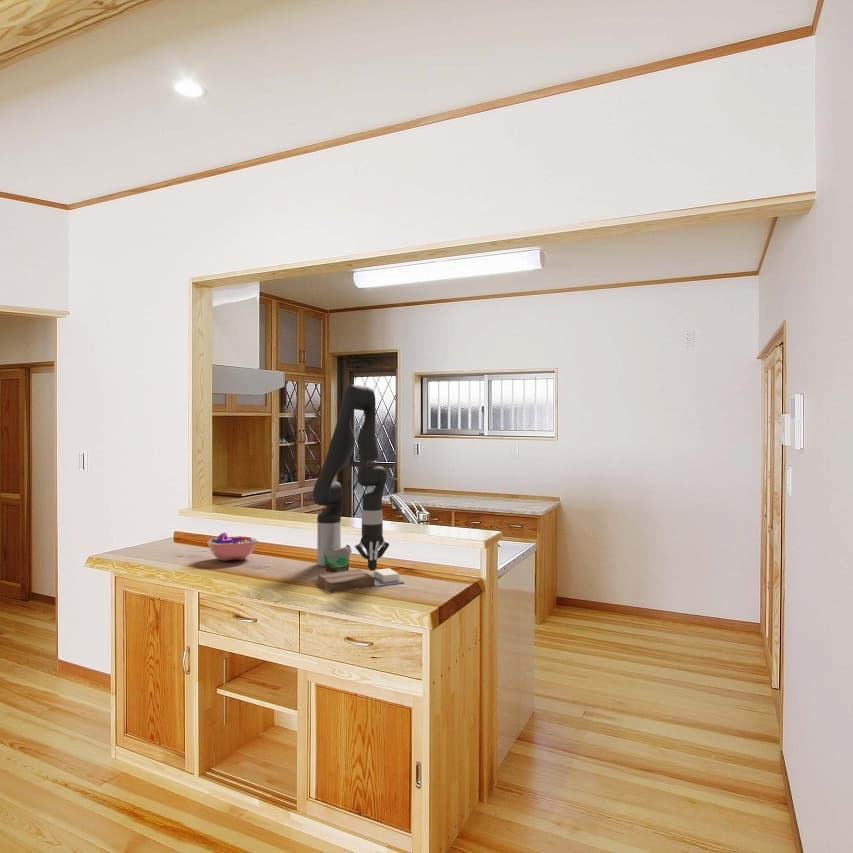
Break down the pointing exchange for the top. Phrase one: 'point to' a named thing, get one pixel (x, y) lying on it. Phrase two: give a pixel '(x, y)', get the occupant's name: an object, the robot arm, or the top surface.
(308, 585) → the top surface
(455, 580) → the top surface
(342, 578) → the brown wooden board
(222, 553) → the cell model
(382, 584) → the mat
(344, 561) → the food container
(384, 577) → the tile
